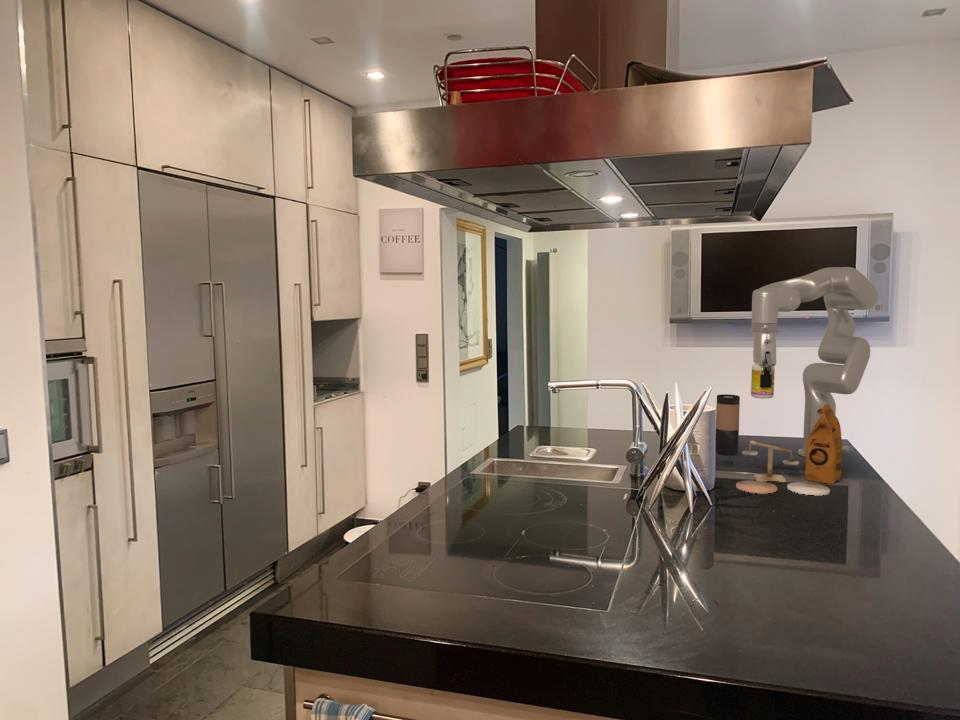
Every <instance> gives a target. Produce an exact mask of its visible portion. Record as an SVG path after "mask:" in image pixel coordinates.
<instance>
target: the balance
mask: <svg viewBox="0 0 960 720" xmlns="http://www.w3.org/2000/svg"><path fill="white" fill-rule="evenodd" d="M753 445H754V446H759V447H761V448H767V470H766V471H767V473H766V474H757V473H755V474H753V478H754V479H755V481H762V482H767V481H779V482H778V483H786V478H785V477H784V476H783V475H782V474H773V469H774V468H773V466H774V465H773V464H774V462H773V461H774V450H775V451H780V452H784V453H788V454H789V455H787V459H783V460H782V464H784V465H787V466H799V465H800V461H798V460H796V459H795V457H796V456H795V455H793V450H792V449H789V448H785V447H780V446H776V445H771V444H766V443H763V442H758V441H754V440H750V441H749V449H745V450H742V451H741V454H742V455H744V456H751V457H753V456H758V455H759V454H758V453H759V452H758V451H755V450H751V449H752V446H753Z"/></svg>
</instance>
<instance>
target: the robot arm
mask: <svg viewBox="0 0 960 720" xmlns="http://www.w3.org/2000/svg"><path fill="white" fill-rule="evenodd" d="M822 297H823V301H824V305H825V308H826V312H827V317H828V323H827V327H826V329H825V331H824V334H823V337H822V338H821V342H820V344H819V346H818V349H817V350H818V351H817V356H818V358H819V359H820V360H821V361H823V362H813V363H810V364H808V365H807V366H806V367H805V368H804V370H803V373H802V383H803V389H804V413H803V415H804V418H803V419H804V420H803V438H802V440H803V441H802V448H799V449H798V450H797V454H798V455H799V456H801V457H804V458H805V454H806V444H807V440H808V437H809V435H810V433H811V432H812V430H813V428H814V426H815V424H816V423H817V422H818V420H819V419H820V418H821V417H822V415H821V414H819V413H817V411H818V410H819V409H820V408H823V407H824V405H826V404H829V405H830V407H831V409H832V410H833V412H834V414H835V415H836V411H837V405H836V401H835V399H834V397H833V394H838V395H852V394H854V393H855V392H856V391H857V390H858V388H859V386H860V385H861V381H862V378H863V376H864V373H865V371H866V369H867V366H868V364H869V360H870V356H871V345H870V343H869V341H868V339H866V338H864V337H861V336H854V335H855V330H856V323H855V321H854V320H855V319H854V318H853V317H852V315H851V314H850V312H849V310H858V311H860V310H861V311H866V310H871V309H873V308H874V307H875V306H876V304H877V303H878V299H879V293H878V290H877V288H876V287H875V285H874V284H873V283H872V282H871V281H870V280H869V279H868V278H867V277H866V276H865V275H864V274H863V273H862V272H861V271H860V270H858V269H856V268H855V267H850V266H841V267H840V266H837V267H834V266H833V267H831V266H830V267H825V268H821V269H818V270H815V271H813V272H811V273H808V274H805V275H803V276H798V277H794V278H789V279H785V280H780V281H777V282H773V283H770V284H767V285H764V286H761V287H760V288H757V289H755V290H753V291H752V295H751V300H752V301H751V330H750V332H751V333H750V334H753V335H754V337H753V350H752V352H753V354H752V357H753V360H752V361H753V363H754V364H756V362H757V364H758V365H760V366H761V374H762V375H760V387H761V388H771V381H772V371H771V370H772V368H771V366H774V367H775V366H776V365H777V342H776V341H777V340H776V335H777V334H778V319H779V318H778V316H779V313H790V312H793V311H795V310H797V309H798V308H799V307H800V305H801V303H808V302H812V301H815V300H817V299H819V298H822ZM755 359H756V360H755ZM825 362H826V363H825ZM763 364H766V365H763ZM764 367H765V368H764ZM842 452H846V453H847V452H850V446H849V445H843V444H842Z"/></svg>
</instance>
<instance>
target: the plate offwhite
mask: <svg viewBox="0 0 960 720" xmlns="http://www.w3.org/2000/svg"><path fill="white" fill-rule="evenodd" d="M786 489H787V490H788V491H789V490H790V491H789V492H791V491H792V493H794V492H795V493H794V494H797V493H798V495H802V494H805V495H804V496H808V495H814V496H813V497H820V496H821V497H823V495H824V496H828V495H830V492H831V489H830V488H829V487H827V486H825V485H822V484H819V483H816V482H814V483H813V482H805V481H804V482H803V481H796V482H795V481H794V482H790V483H789V482H788V483H787V486H786Z"/></svg>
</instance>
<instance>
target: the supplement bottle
mask: <svg viewBox="0 0 960 720" xmlns="http://www.w3.org/2000/svg"><path fill="white" fill-rule="evenodd" d="M755 360H756V359H755ZM763 365H766V364H763ZM764 368H765V367H764ZM771 368H772V370H771V371H772V381H771V388H761V387H760V375H762V374H761V366H760V365H758V364H757V362H756V364H755V363H754V364H753V365H752V366H751V381H750V384H751V385H750V395H751V397H752V398H755V399H761V400H762V399H772V398H774V393H775V371H776V370H775V366H771Z"/></svg>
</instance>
